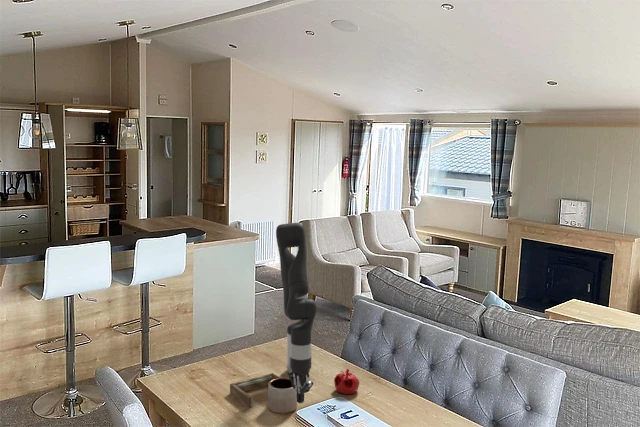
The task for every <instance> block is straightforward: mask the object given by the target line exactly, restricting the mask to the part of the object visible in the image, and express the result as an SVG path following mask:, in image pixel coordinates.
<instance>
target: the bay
mask: <svg viewBox="0 0 640 427" xmlns="http://www.w3.org/2000/svg"><path fill="white" fill-rule="evenodd" d="M275 378H280V377H279V376H278V375H277V374H275V373H273V372H272V373H268V374H264V375H258V376H256V377H253V378H248V379H245V380H240V381H235V382H233V383H229V384H230V385H229V394H230V395H231V396H232V397H234V398H235V399H237V401H239V402H240V403H242V404H243V405H244V406H246V407H247V408H248V409H252V408H253V406H252V403H253V402H252V401H253V397H252V396H251V395H249V394H248V393H246V391H250V390H251V391H252V390H254V389H257V388H262V387H265V386H268V383H269V381H271V380H273V379H275Z"/></svg>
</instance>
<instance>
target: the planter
mask: <svg viewBox="0 0 640 427" xmlns="http://www.w3.org/2000/svg"><path fill="white" fill-rule="evenodd" d="M267 387H268V388H267V392H268V393H267V407H268V410H269V411H270V412H273V413H275V414H283V415H284V414H290V413H292V412H293V411H295V410H296V409H297V407H298V402H297V399H296V395H297V392H296V391H295V389H293V387H292V384H291V381H290V378H289V377H279V378H275V379H273V380H271V381H269V383H268V385H267Z"/></svg>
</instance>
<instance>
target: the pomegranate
mask: <svg viewBox="0 0 640 427" xmlns="http://www.w3.org/2000/svg"><path fill="white" fill-rule="evenodd" d="M333 382H334V387H335V390H336V391H337V393H340V394H342V395H343V394H344V395H352V394H355V392H356V391H358V390H359V386H360V380H359V379H358V377H357V376H356V375H355V374H353V371H351V372H350V368H346V369H345V372H344V371H342V370H341V371H340V372H339V373H337V374H336V375H335V377H334V380H333Z"/></svg>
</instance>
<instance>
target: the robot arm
mask: <svg viewBox="0 0 640 427" xmlns="http://www.w3.org/2000/svg"><path fill="white" fill-rule="evenodd" d="M275 236H276V243H277V248H278V253H279V261H280V262H279V264H280V275H281V283H282V290H283V311H284V315H285V316H286V317H287V318H289V320H291V321H296V322H294V323H291V324H289V325H288V326H287V328H286V329H287V331H286V332H287V333H286V334H287V335H286V345H287V346H286V372H287V374H288V378H290V381H291V384H292V387H293V389H295V391H296V392H297V395H296V399H297V404H303V403H304V402H305V394H306V393H309V391H310V389H311V388H312V387H313V385H314V382H313V380H312V381H311V380H310V373H309V372H310V371H311V369H312V329H313V325H314V321H315V317H316V314H317V310H318V309H317V303H316V302H315V300H313V299H310V298H309V297H308V296H307V295H308V294H309V290H310V288H309V281H308V275H307V274H308V273H307V234H306V228H305V225H304V224H303V223H302V222H290V223H281V224H279V225H277V226H276V229H275ZM289 248H297V253H296V255H294V254H293V253H292V252H291V251H290V249H289Z"/></svg>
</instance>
